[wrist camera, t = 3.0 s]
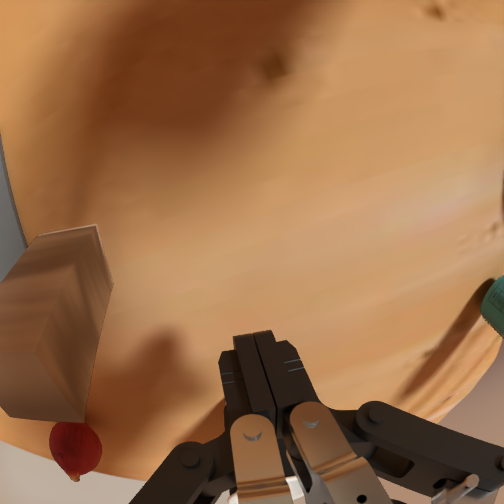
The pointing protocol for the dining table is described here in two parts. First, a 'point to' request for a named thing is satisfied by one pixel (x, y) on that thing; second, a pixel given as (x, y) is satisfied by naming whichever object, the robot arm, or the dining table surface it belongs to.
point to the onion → (75, 448)
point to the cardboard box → (53, 325)
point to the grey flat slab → (8, 224)
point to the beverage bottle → (494, 306)
